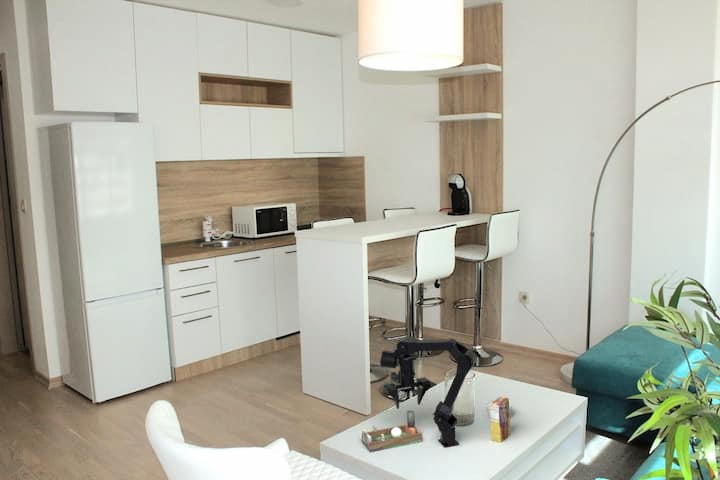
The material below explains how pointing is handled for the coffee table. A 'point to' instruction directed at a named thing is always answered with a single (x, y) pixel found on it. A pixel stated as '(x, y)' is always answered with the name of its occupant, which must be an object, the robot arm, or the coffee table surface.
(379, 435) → the tray
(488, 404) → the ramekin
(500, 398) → the candy box
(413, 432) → the cylinder
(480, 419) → the coffee table surface
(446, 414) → the robot arm
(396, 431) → the ball
